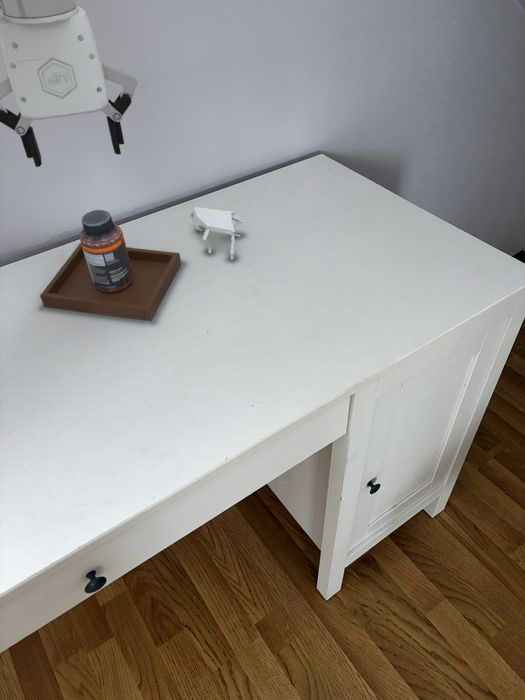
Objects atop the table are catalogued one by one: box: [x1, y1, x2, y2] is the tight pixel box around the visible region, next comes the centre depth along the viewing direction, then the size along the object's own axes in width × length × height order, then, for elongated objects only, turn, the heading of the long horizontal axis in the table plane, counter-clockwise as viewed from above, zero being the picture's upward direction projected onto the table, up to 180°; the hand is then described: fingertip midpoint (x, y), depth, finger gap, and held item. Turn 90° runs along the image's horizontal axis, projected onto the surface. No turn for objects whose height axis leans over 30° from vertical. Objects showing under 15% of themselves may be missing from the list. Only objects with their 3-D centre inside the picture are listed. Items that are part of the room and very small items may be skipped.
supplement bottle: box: [79, 209, 133, 293], centre depth 81 cm, size 6×6×11 cm
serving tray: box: [39, 242, 182, 322], centre depth 85 cm, size 17×14×2 cm
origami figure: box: [189, 206, 245, 260], centre depth 92 cm, size 12×8×5 cm
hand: (78, 155), depth 71 cm, fingers open, 9 cm apart
